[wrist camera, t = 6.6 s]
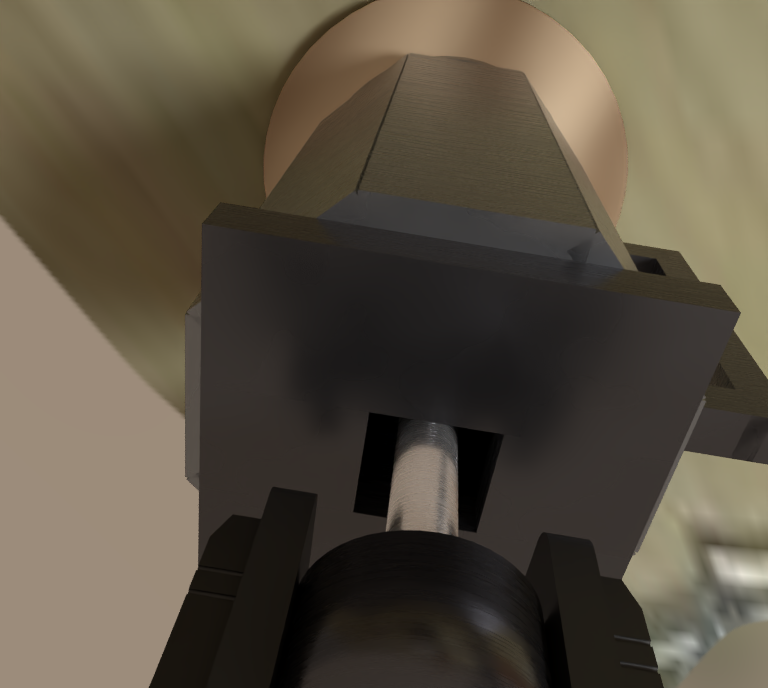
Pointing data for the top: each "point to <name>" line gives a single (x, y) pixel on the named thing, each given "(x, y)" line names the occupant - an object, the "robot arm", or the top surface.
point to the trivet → (460, 39)
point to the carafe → (455, 329)
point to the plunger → (416, 594)
